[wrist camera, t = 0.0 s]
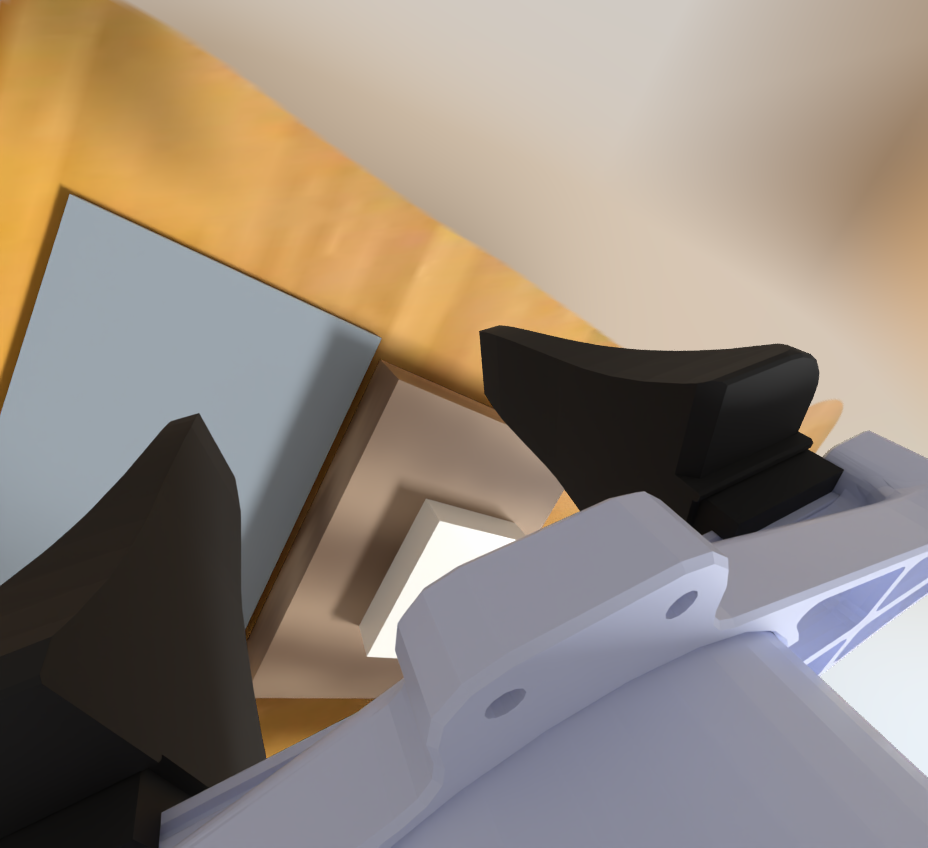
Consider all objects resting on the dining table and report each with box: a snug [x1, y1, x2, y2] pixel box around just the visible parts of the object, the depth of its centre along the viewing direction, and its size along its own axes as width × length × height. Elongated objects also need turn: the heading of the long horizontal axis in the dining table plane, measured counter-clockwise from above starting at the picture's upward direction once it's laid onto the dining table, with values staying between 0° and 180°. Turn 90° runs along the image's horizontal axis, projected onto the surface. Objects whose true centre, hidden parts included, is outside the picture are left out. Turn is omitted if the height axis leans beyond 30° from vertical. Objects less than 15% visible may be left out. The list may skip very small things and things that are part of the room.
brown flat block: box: [247, 359, 564, 698], centre depth 25 cm, size 18×12×4 cm, turn 150°
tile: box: [359, 499, 526, 658], centre depth 24 cm, size 8×6×2 cm
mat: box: [0, 194, 382, 629], centre depth 20 cm, size 20×12×1 cm, turn 150°
